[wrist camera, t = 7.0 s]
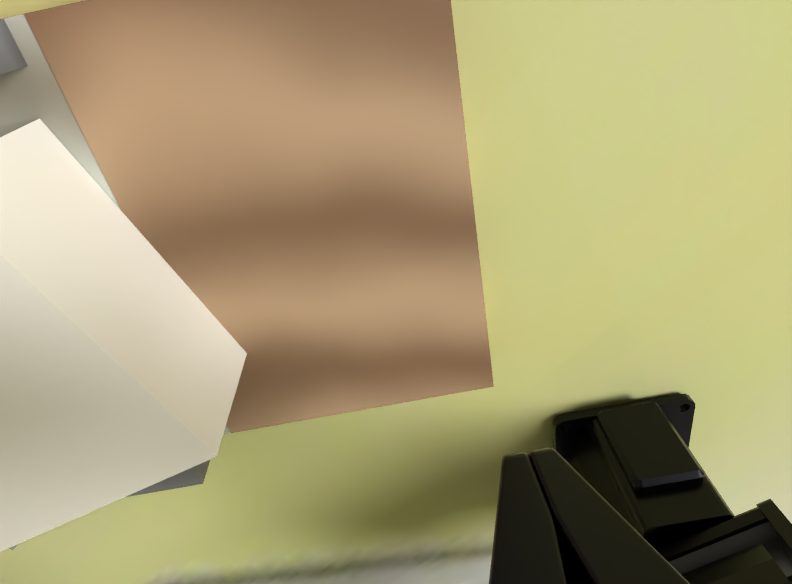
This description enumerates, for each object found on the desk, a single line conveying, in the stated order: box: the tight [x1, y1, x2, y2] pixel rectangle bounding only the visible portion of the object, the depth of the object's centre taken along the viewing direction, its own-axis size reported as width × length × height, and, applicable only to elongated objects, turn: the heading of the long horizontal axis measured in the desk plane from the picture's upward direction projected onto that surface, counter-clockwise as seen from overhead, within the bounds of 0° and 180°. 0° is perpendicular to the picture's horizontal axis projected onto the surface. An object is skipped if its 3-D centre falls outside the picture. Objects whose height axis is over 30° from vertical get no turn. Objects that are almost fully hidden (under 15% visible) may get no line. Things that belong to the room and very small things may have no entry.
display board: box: [0, 0, 493, 497], centre depth 17 cm, size 16×22×5 cm
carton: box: [0, 118, 247, 552], centre depth 17 cm, size 10×9×5 cm
